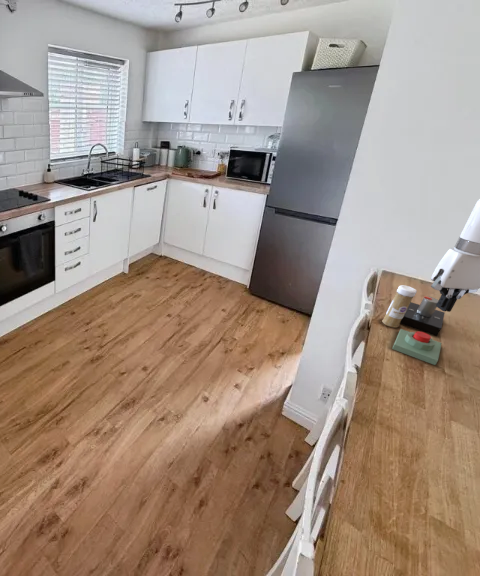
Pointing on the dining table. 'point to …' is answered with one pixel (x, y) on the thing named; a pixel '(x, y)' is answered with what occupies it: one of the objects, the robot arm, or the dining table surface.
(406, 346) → the button box
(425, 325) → the panel
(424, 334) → the button
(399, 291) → the sprinkles bottle
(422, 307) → the dial
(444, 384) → the dining table surface
